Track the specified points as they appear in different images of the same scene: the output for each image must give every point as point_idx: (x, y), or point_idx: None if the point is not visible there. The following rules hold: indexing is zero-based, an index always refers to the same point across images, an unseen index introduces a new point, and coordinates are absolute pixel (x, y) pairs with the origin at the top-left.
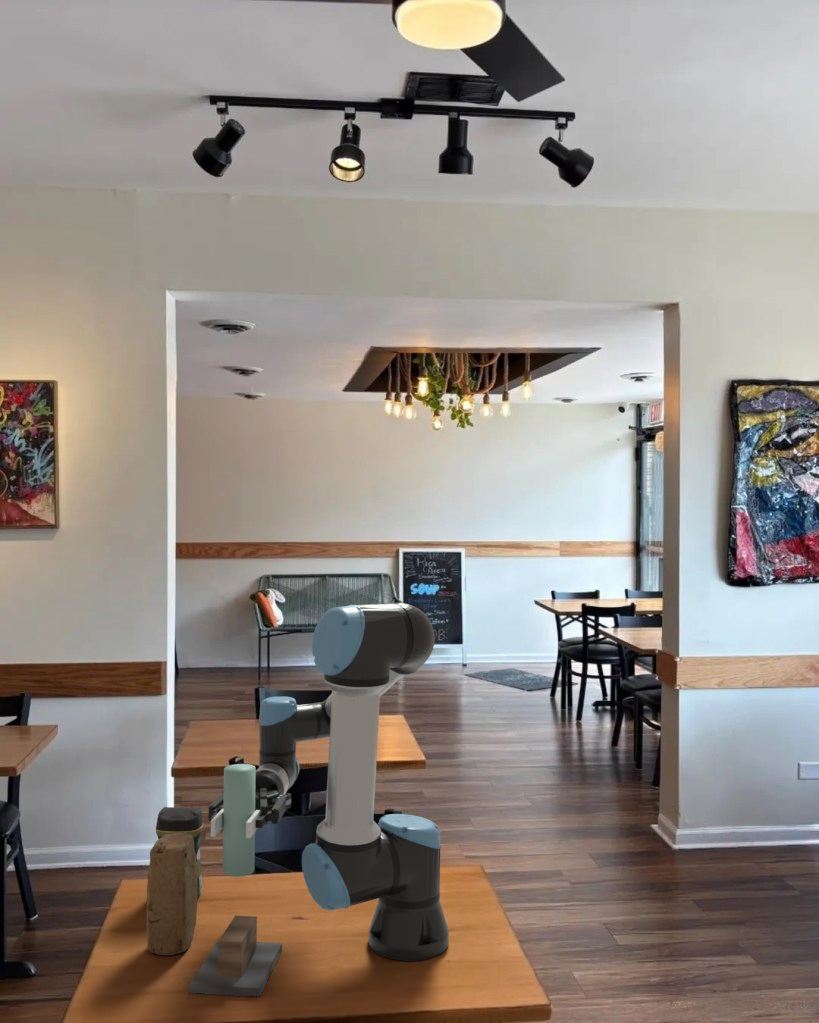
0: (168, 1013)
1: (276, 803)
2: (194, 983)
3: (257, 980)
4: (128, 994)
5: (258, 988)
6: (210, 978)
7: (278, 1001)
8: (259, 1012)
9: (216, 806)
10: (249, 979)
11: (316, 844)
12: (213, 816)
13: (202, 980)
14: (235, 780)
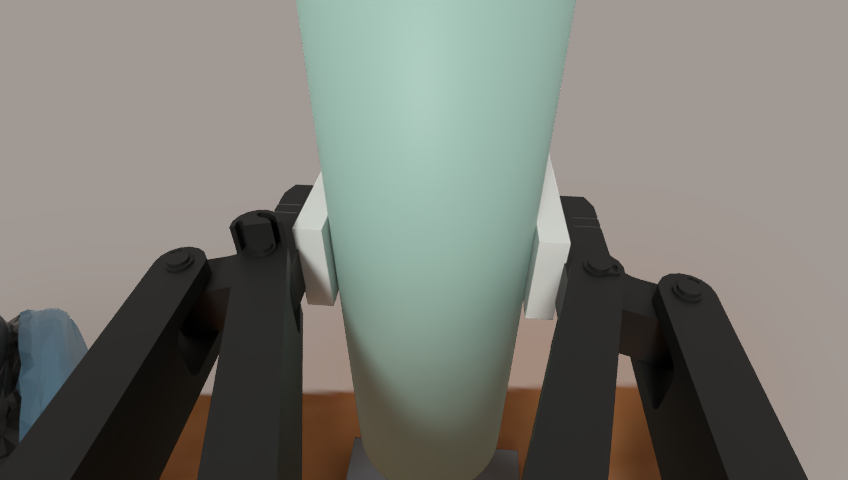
0: (525, 390)
1: (124, 375)
2: (507, 454)
3: (361, 470)
4: (646, 453)
5: (357, 437)
6: (477, 476)
7: (315, 434)
8: (352, 396)
9: (665, 322)
10: (381, 474)
11: (24, 348)
12: (582, 209)
13: (493, 468)
14: None
